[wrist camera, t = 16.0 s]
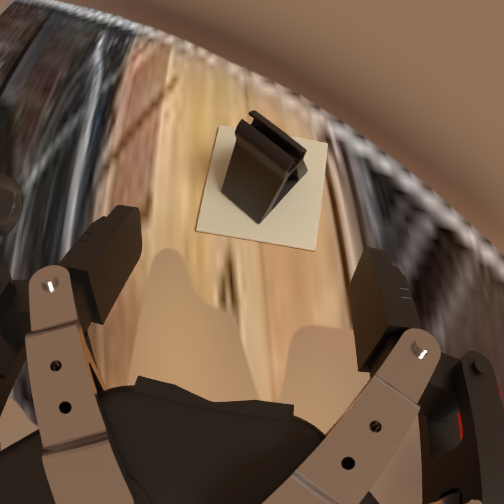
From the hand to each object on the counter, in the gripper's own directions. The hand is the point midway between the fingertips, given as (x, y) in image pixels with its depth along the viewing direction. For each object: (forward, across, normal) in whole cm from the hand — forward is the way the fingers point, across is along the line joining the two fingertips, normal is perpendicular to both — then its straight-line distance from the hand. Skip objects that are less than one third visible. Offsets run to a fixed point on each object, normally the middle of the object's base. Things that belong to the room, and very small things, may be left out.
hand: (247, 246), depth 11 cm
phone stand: (+27, 0, +10) cm, 29 cm away
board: (+27, 0, +11) cm, 29 cm away
